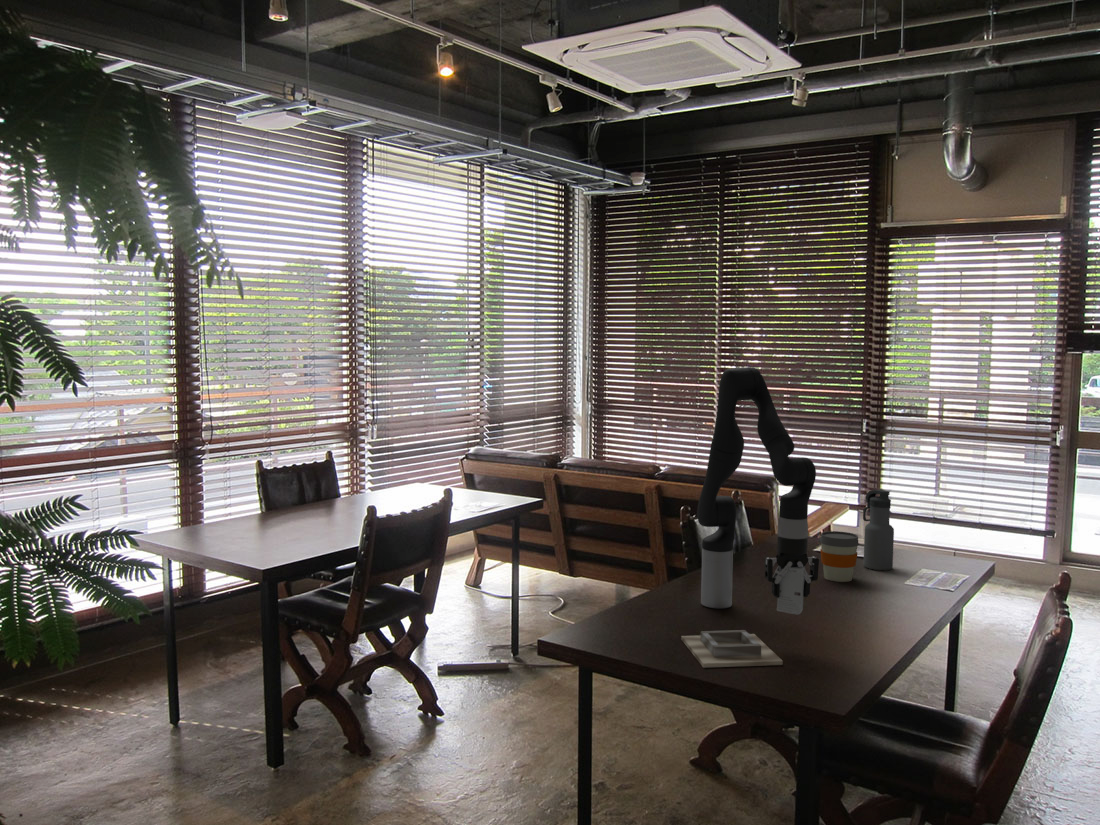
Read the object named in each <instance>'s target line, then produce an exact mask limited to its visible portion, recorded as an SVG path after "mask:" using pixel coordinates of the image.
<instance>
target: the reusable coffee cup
mask: <svg viewBox="0 0 1100 825" xmlns="http://www.w3.org/2000/svg"><path fill="white" fill-rule="evenodd" d="M819 543H820V561H821V564H822V568H823V578H824V579H826V580H828V581H831V582H837V583H844V582H845V583H846V582H850V581H852V580H853V575H854V570H855V566H856V564H857V558H858V547H859V545H860V544H859V536H858V535H857V534H855V533H851V532H847V531H836V530H835V531H833V530H830V531H823V532H820V538H819Z"/></svg>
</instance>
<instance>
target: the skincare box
mask: <svg viewBox="0 0 1100 825" xmlns="http://www.w3.org/2000/svg"><path fill="white" fill-rule="evenodd" d="M778 566H779V565H778ZM804 568H805V569H806V566H805V567H804ZM804 568H799V567H790V568H789V569H788V571H787V573H786V574H785V576H784V577H782V579H781V580H780V582H779V584H780V592H779V598H776V611H777V612H782V613H785V614H792V615H797V616H798V615H800V614H801V613H802V612H803V609H804V580H805V579H804V576H803V573H804ZM781 571H782V569H781V567H780V566H779V572H781Z"/></svg>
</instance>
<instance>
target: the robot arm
mask: <svg viewBox="0 0 1100 825" xmlns="http://www.w3.org/2000/svg"><path fill="white" fill-rule="evenodd" d="M718 387H719V388H718V397H717V398H718V399H717V400H718V401H717V408H716V409H717V411H716V417H715V424H714V430H713V435H712V439H711V444H710V448H709V455H708V461H707V467H706V474H705V477H704V482H703V486H702V488H701V492H700V495H699V499H698V503H697V511H696V518H697V522H698V523H699V526H702V527H706V528H715V527H716V528H717V527H718V528H717V530H716V531H714V532H713V533H712V534H709V535H707V536H705V537H703V538H702V542H701V578H700V579H701V586H700V589H701V590H700V605H702V606H704V607H707V608H711V609H728V608H731V607H732V605H733V602H732V601H733V568H734V567H733V565H734V564H733V562H734V561H733V559H734V558H733V557H734V543H735V537H736V533H735V532H736V524H737V523H736V521H737V507H736V506H737V505H736V502H735V500H734V498H733V497H732V496H729V495H718V493H719V492H720V490H721V487H722V486H724V484H725V483H726V482H727V480H728V479H730V478H731V476H732V475H733V474H734V473H736V471H737V469H738V468H739V466H740V464H741V462H742V457H743V453H744V447H745V441H744V440H745V439H744V436H743V432H742V431H741V429H740V427H739V425H738V423H737V420H736V407H737V403H738V401H739V402H741V401H752V402H753V403H754V404H755V406H756V408H757V409H758V417H757V428H756V429H757V433H758V437H759V439H760V441H761V443H762V445H763V446H764V448H765V451H766V452H767V453H768V457H769V461H770V465H771V469H772V473H773V477H774V479H775V480H776V481H777V482H778V483H779V484H780V485H782V486H785V487H787V486H788V487H790V486H792V488H791V490H790V491H789V492H787V493H784V494H782V495H781V497H780V498H779V517H778V523H777V542H776V543H777V544H776V546H777V547H776V549H777V550H776V552H777V553H776V556H775V557H769V556H766V557H764V579H765V580H767V581H768V582H771V593H772V595H773V596H774V597H775V599H777V598H779V592H780V584H779V582H780V580H781V579H782V577H784V576H785V574H786V573H787V571H788V569H789V568H790V567H799V568H804V567H805V568H804V573H803V576H804V579H805V580H804V596H803V598H808V595H810V594H811V593H810V592H811V583H812V582H814V581H815V582H816V581H818V579H819V565H820V559H819V558H818V557H817V556H814V555H812V556H808V545H809V544H808V542H809V541H808V540H809V536H808V535H809V522H808V518H809V517H808V516H809V515H808V511H809V508H808V507H809V500H810V498H811V495H812V492H813V488H814V485H815V482H816V477H817V470H816V469H817V468H816V466H815V463H814V462H813V461H812V460H811V459H810V458H808V457H789V456H790V455H792V453H793V452H795V451H794V450H795V443H794V440H793V439H792V437H791V436H790V434H789V433H788V431H787V429H786V427H785V425H784V424H783V423H782V421H781V419H780V416H779V414H778V412H777V410H776V407H775V404H774V400H773V398H772V396H771V393H770V391H769V388H768V386H767V383H766V381H765V378H764V377H763V375H762V373H761V371H760V370H759V368H756V367H754V366H746V367H745V366H744V367H732V368H728V369H725V370H724V371H723V373H722V374H721V377H720V381H719V386H718ZM775 564H777V565H778V566H776V569H775V571H774V570H773V569H774V566H775ZM807 564H808V565H809V573H808V571H807V570H806V565H807ZM779 566H780V567H781V569H782V571H781V572H779ZM773 571H774V573H773Z"/></svg>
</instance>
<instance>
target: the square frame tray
mask: <svg viewBox="0 0 1100 825" xmlns="http://www.w3.org/2000/svg"><path fill="white" fill-rule="evenodd" d="M681 641H682V642H683V644H684V645H685V646H686V647H687V649H688V650H689V651H690V653H691V654H692V655H693V656H694V658H695V659H696V660H697V662H698V663H699V665H700V666H701V667H702V668H705V669H706V668H725V667H727V668H728V667H729V668H731V667H734V668H735V667H760V666H762V667H763V666H765V667H766V666H782V665H784V664H783V662H784V661H783V660H782V659H781V658H780V657H779V656H778V655H777V654H776V653H775V652H774V651H773V650H772V649H770V648H771V647H768V646H767V644H766V643H764V642H763V641H762V640H761V638H759V637H758V636H757V635H756V634H755V633H749V632H748V631H747V630H746V629H739V630H737V629H735V630H733V629H732V630H704V631H703V630H701V631H700V634H699V635H681Z"/></svg>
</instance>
